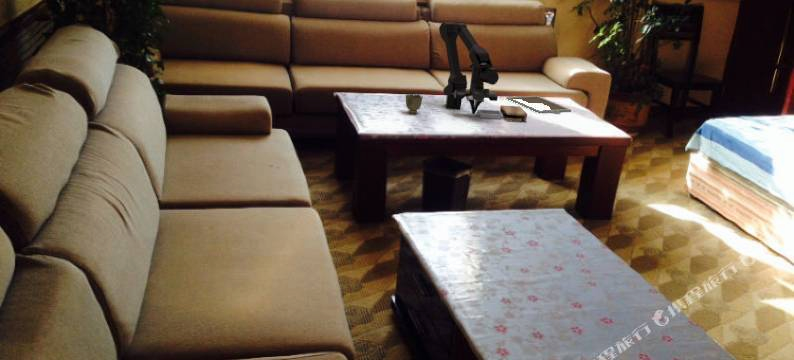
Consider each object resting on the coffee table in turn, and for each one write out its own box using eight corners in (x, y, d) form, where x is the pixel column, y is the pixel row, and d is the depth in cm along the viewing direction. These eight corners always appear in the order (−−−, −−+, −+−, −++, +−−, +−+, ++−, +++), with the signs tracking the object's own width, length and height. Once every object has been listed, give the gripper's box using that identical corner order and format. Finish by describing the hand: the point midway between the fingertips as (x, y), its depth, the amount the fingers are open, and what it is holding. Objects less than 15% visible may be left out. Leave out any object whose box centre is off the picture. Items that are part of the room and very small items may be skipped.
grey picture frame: (537, 95, 333) (575, 111, 308) (536, 98, 333) (574, 114, 308) (506, 97, 325) (542, 113, 300) (505, 100, 325) (542, 116, 300)
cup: (423, 115, 284) (425, 97, 282) (408, 115, 282) (409, 97, 279) (417, 110, 291) (418, 93, 288) (401, 111, 288) (403, 93, 285)
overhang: (506, 121, 285) (507, 112, 284) (499, 113, 297) (500, 105, 296) (526, 122, 286) (527, 114, 284) (518, 114, 298) (519, 106, 297)
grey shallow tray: (480, 118, 286) (481, 114, 286) (477, 113, 294) (477, 109, 293) (502, 119, 287) (503, 115, 287) (498, 114, 295) (499, 110, 294)
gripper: (459, 82, 276) (455, 117, 281) (502, 85, 277) (497, 120, 283) (455, 77, 286) (451, 111, 292) (496, 79, 288) (492, 113, 293)
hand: (473, 114), depth 289 cm, fingers closed
